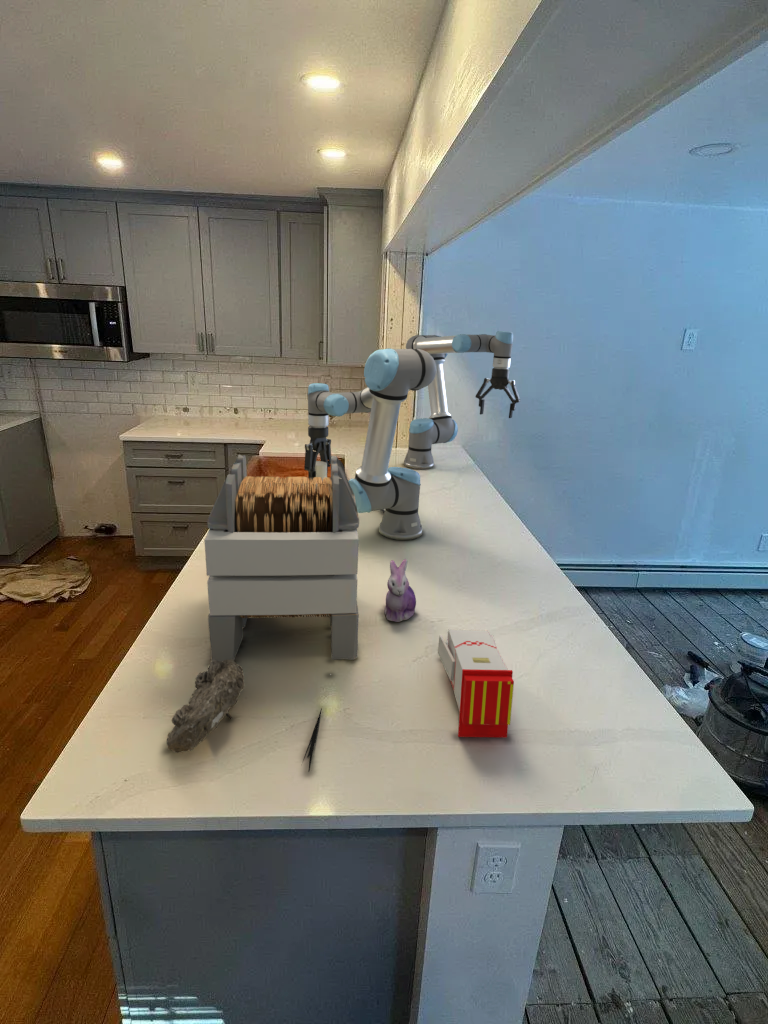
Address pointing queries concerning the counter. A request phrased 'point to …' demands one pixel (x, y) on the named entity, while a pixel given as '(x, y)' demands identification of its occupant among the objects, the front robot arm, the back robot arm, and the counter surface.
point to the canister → (321, 469)
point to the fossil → (206, 705)
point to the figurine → (399, 594)
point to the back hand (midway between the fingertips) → (495, 416)
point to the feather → (313, 740)
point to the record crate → (282, 556)
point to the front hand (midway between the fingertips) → (318, 485)
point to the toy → (478, 682)
